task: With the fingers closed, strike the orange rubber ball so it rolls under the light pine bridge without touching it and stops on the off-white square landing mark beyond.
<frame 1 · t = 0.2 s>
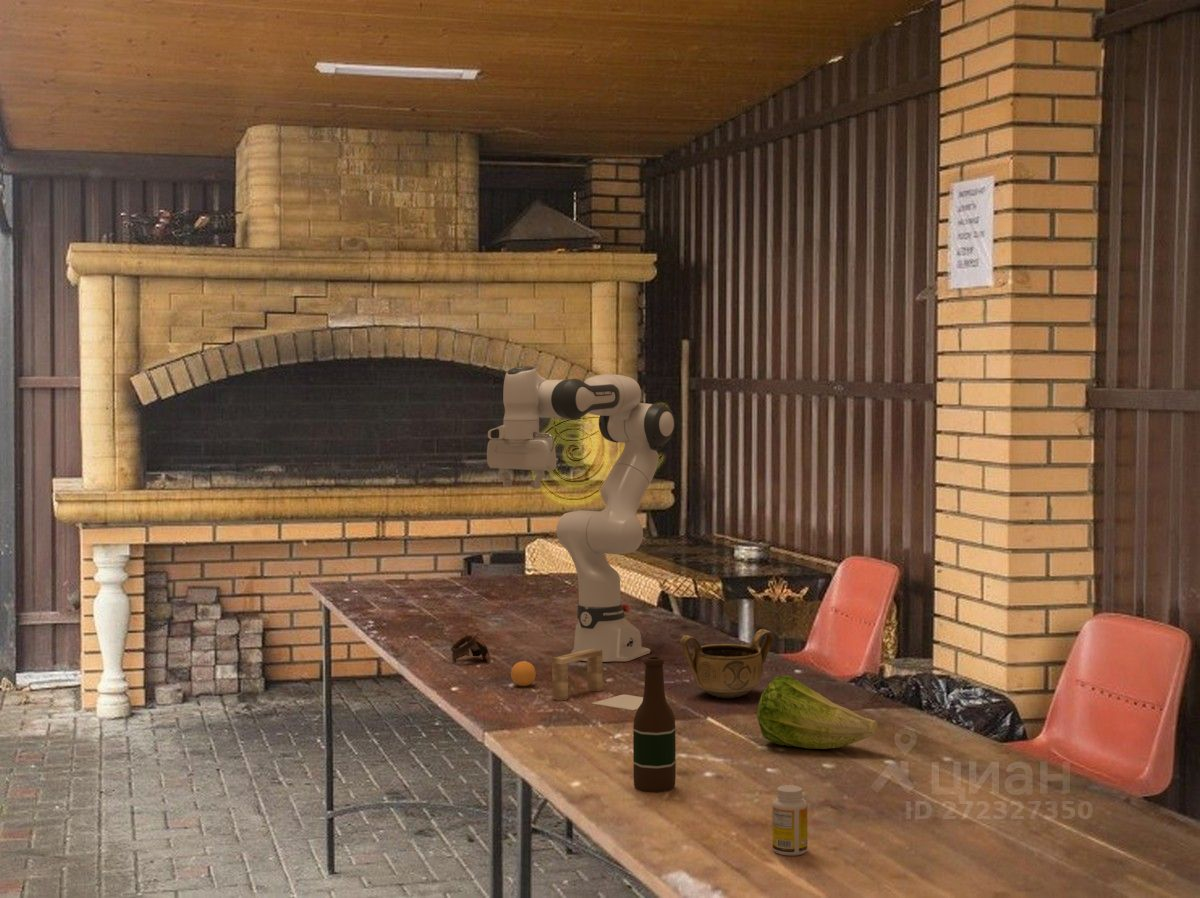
hand: (521, 487, 393), 47 cm above the table, tool pointing down, fingers open, 8 cm apart
landing mark: (628, 702, 363), on the table
bridge: (577, 694, 373), on the table
ceramic bowl: (727, 696, 370), on the table
supplement bottle: (789, 852, 252), on the table
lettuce: (819, 749, 319), on the table
ball: (523, 673, 383), on the table
beer bottle: (654, 788, 291), on the table
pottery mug: (472, 662, 416), on the table
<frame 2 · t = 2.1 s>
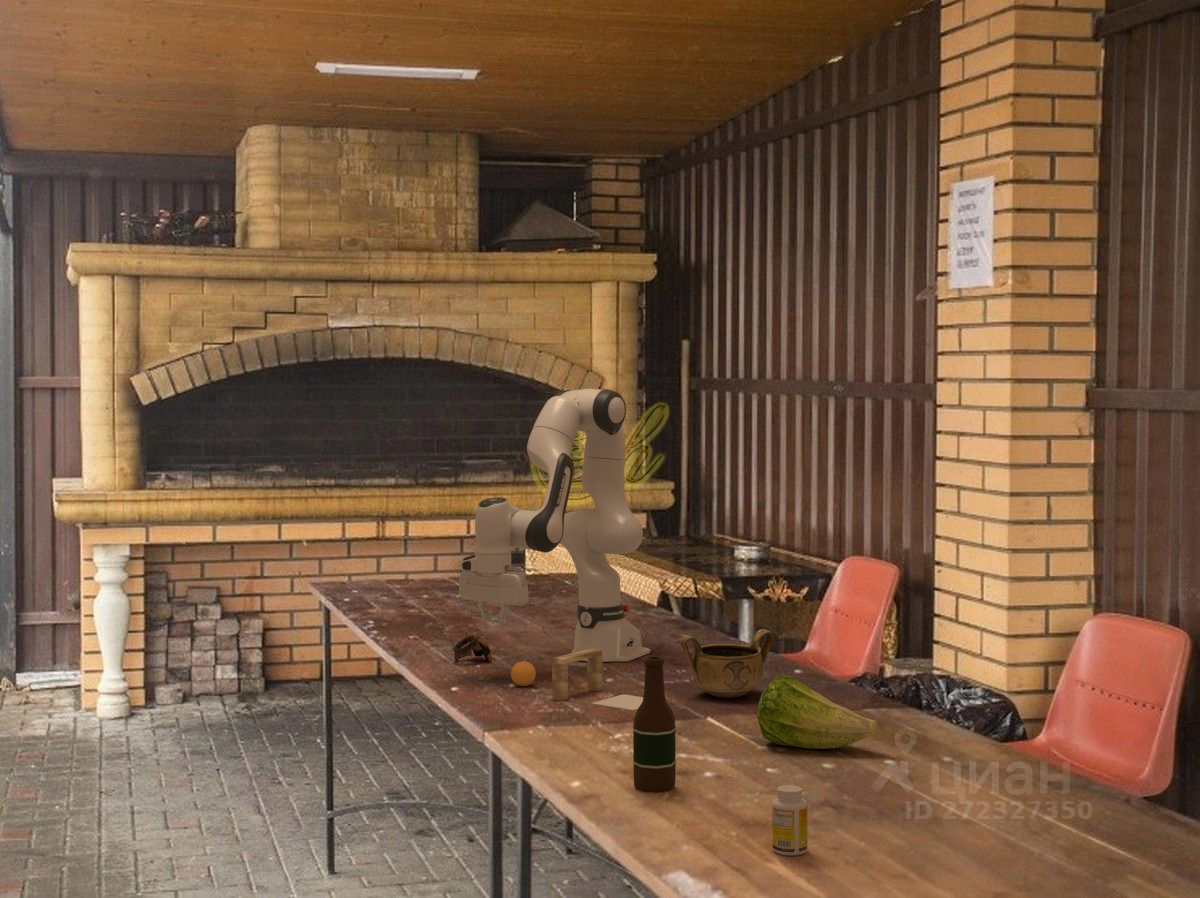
hand: (493, 620, 388), 15 cm above the table, tool pointing down, fingers open, 4 cm apart
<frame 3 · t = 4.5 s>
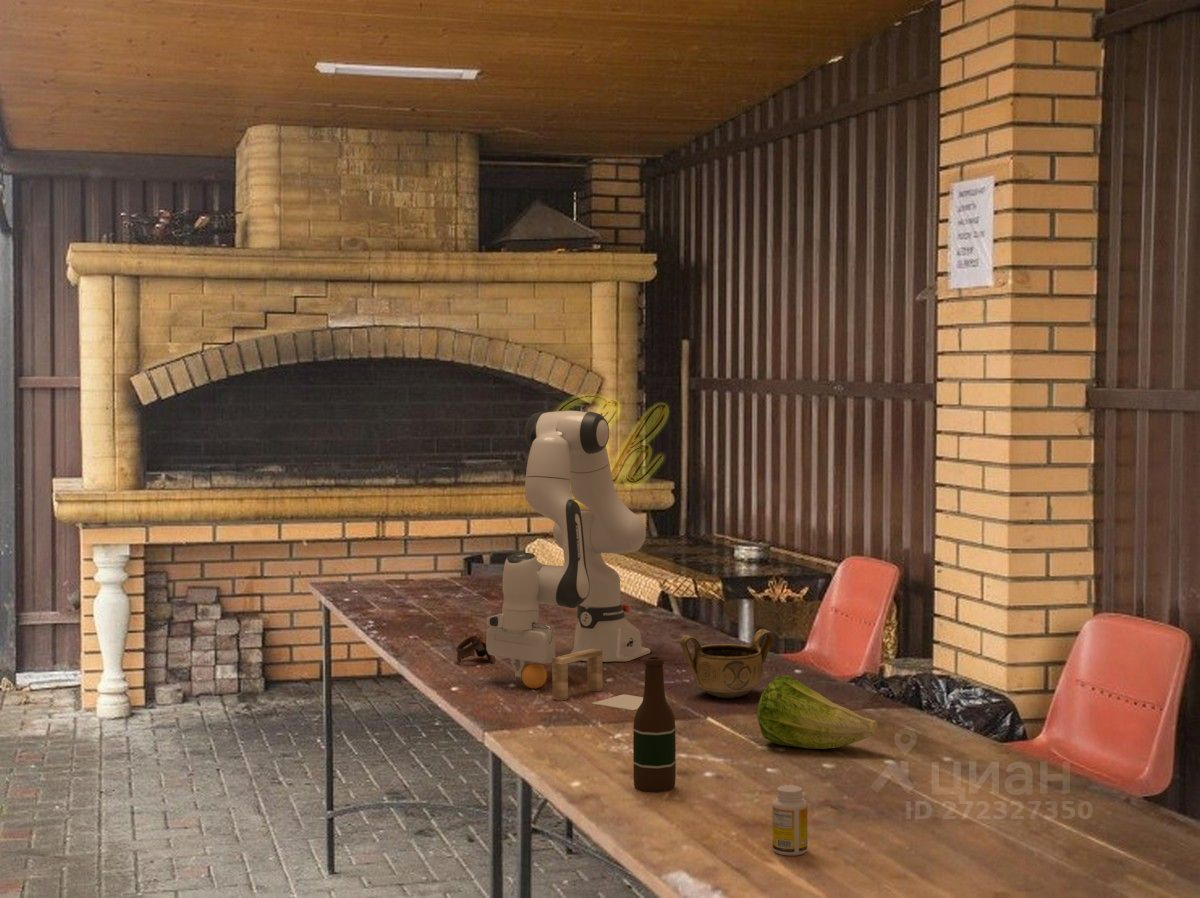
hand: (520, 677, 382), 2 cm above the table, tool pointing down, fingers closed
ball: (534, 675, 380), on the table, touching gripper
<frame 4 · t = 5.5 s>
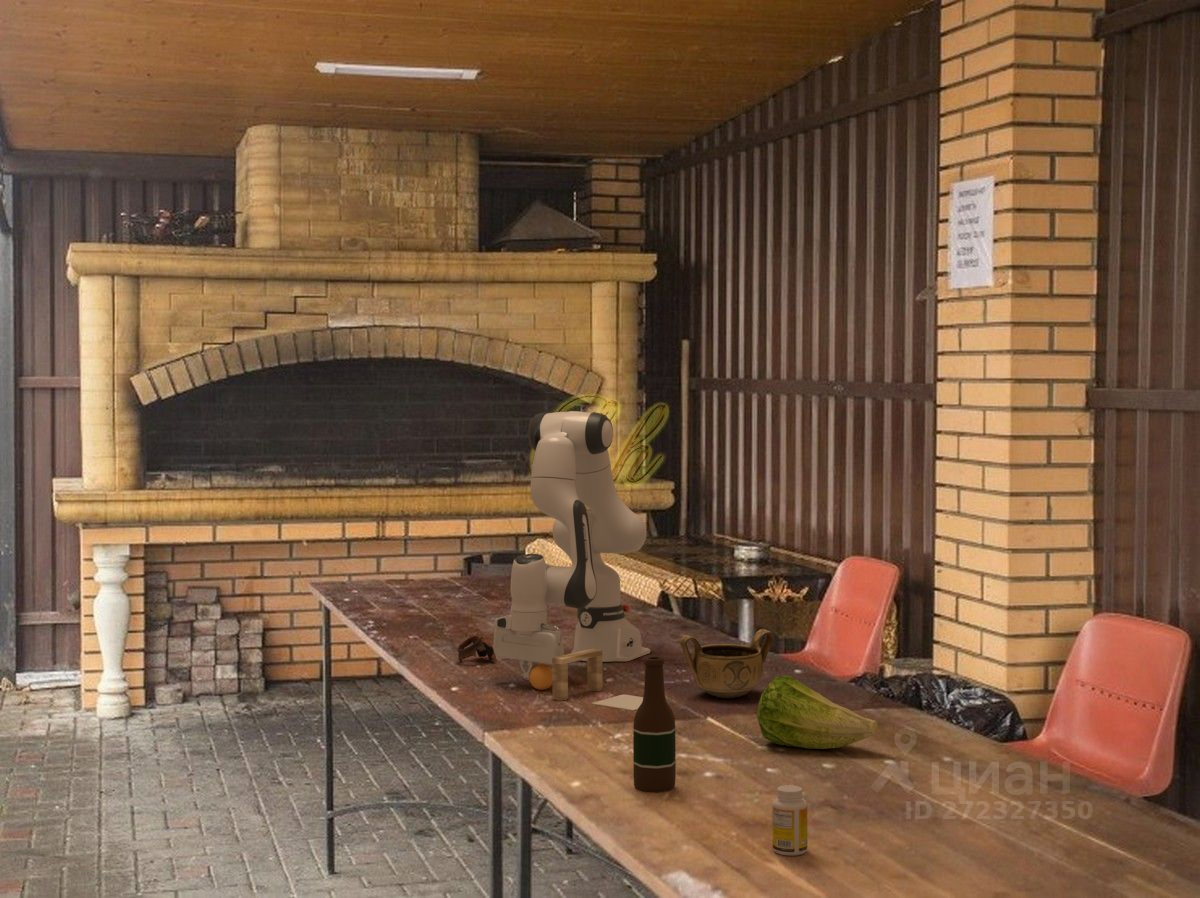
hand: (528, 679, 381), 2 cm above the table, tool pointing down, fingers closed
ball: (541, 677, 379), on the table, touching gripper
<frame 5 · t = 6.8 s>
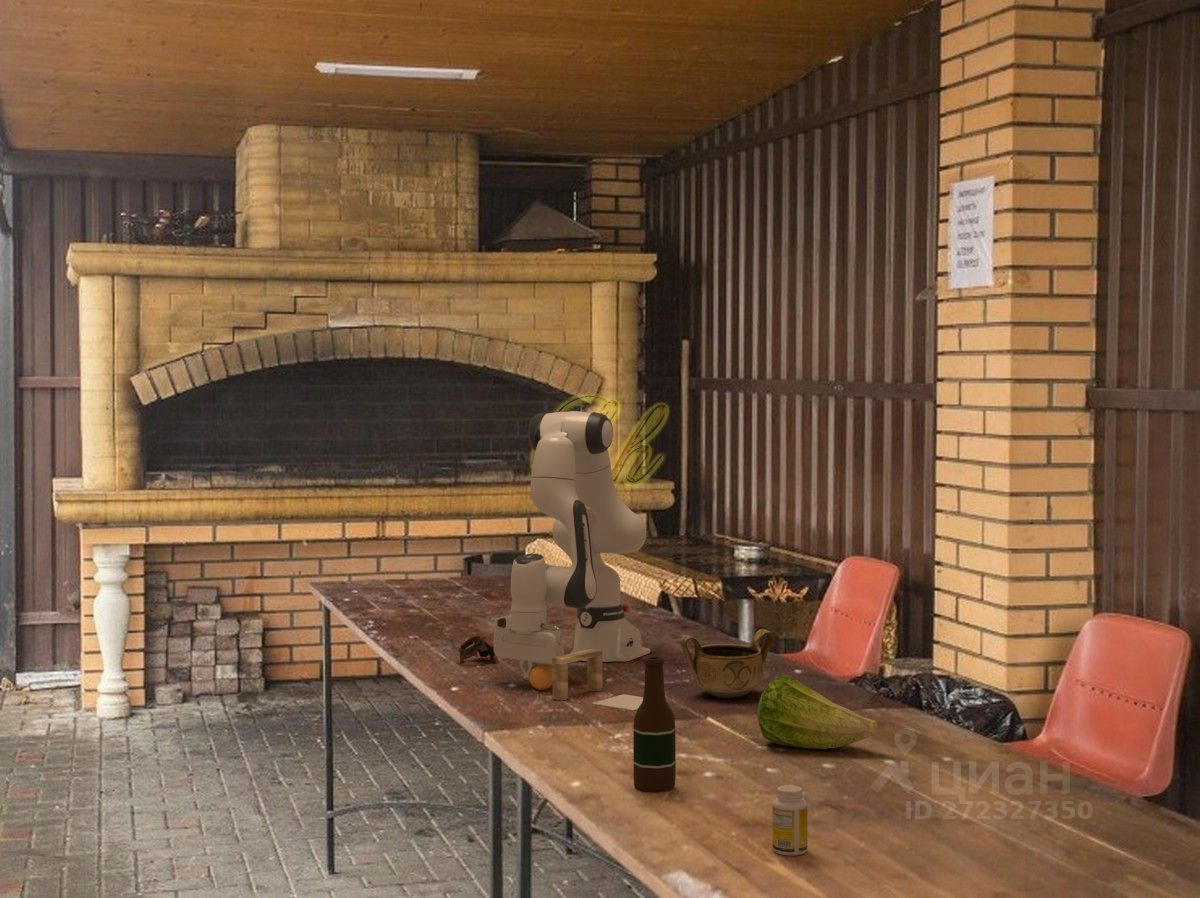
hand: (528, 679, 381), 2 cm above the table, tool pointing down, fingers closed
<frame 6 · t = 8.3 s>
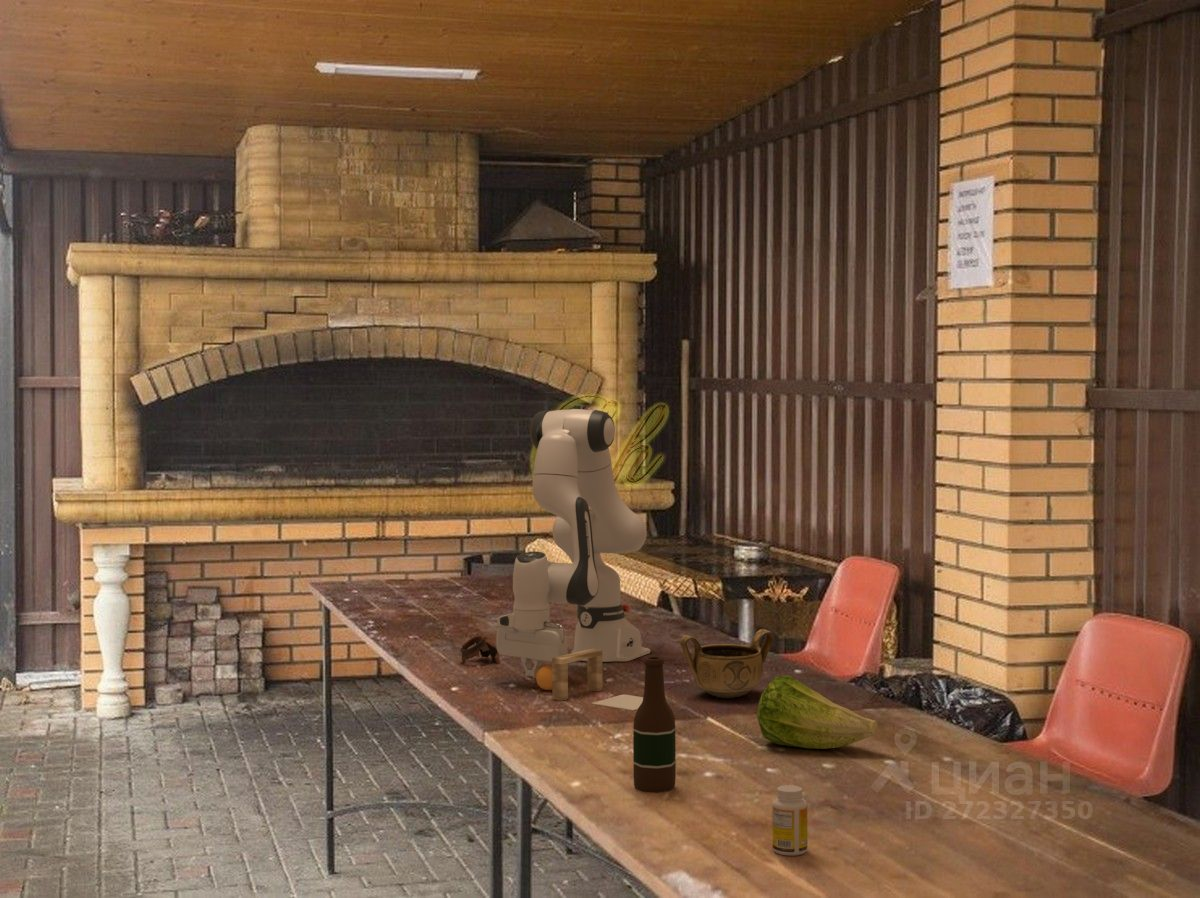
hand: (532, 676, 382), 3 cm above the table, tool pointing down, fingers closed
ball: (548, 677, 378), on the table
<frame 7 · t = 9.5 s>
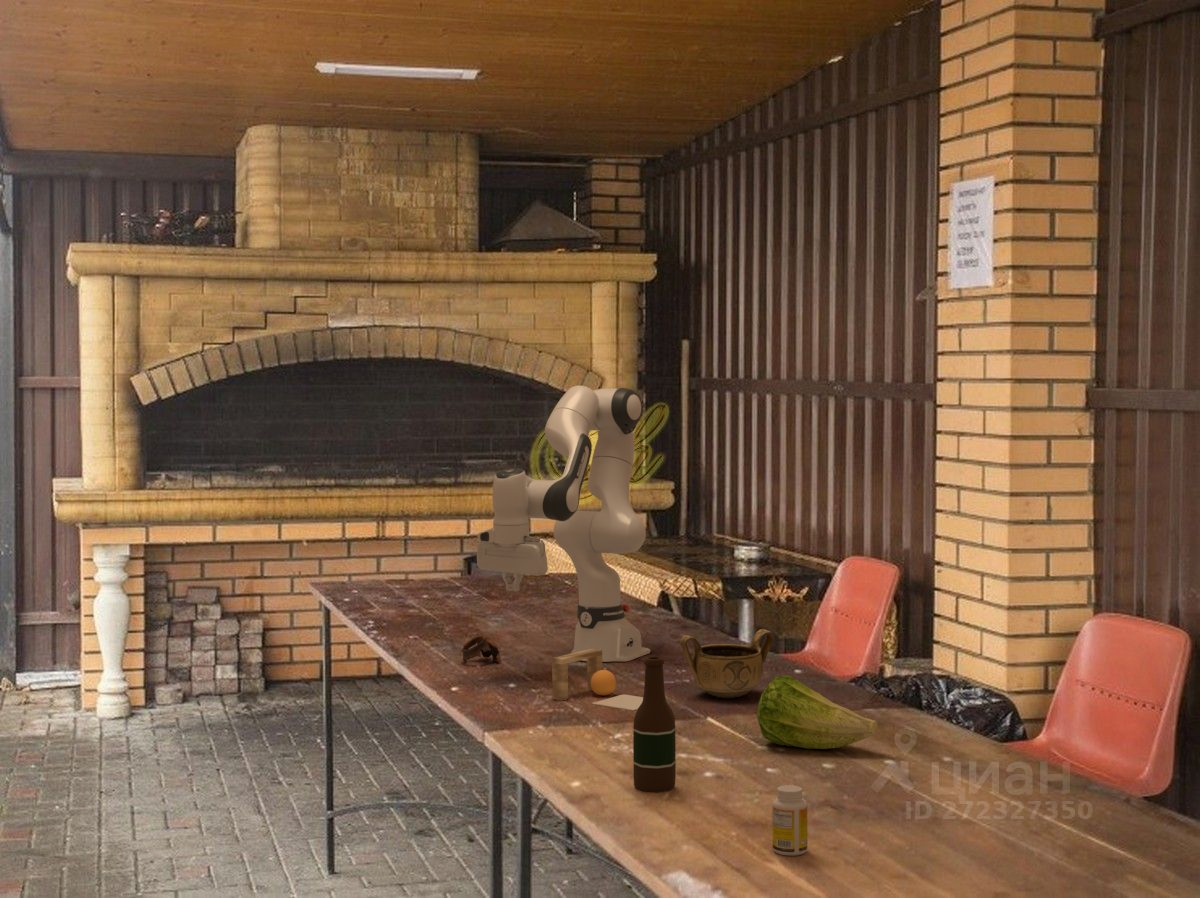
hand: (512, 590, 389), 22 cm above the table, tool pointing down, fingers closed
ball: (603, 682, 372), on the table
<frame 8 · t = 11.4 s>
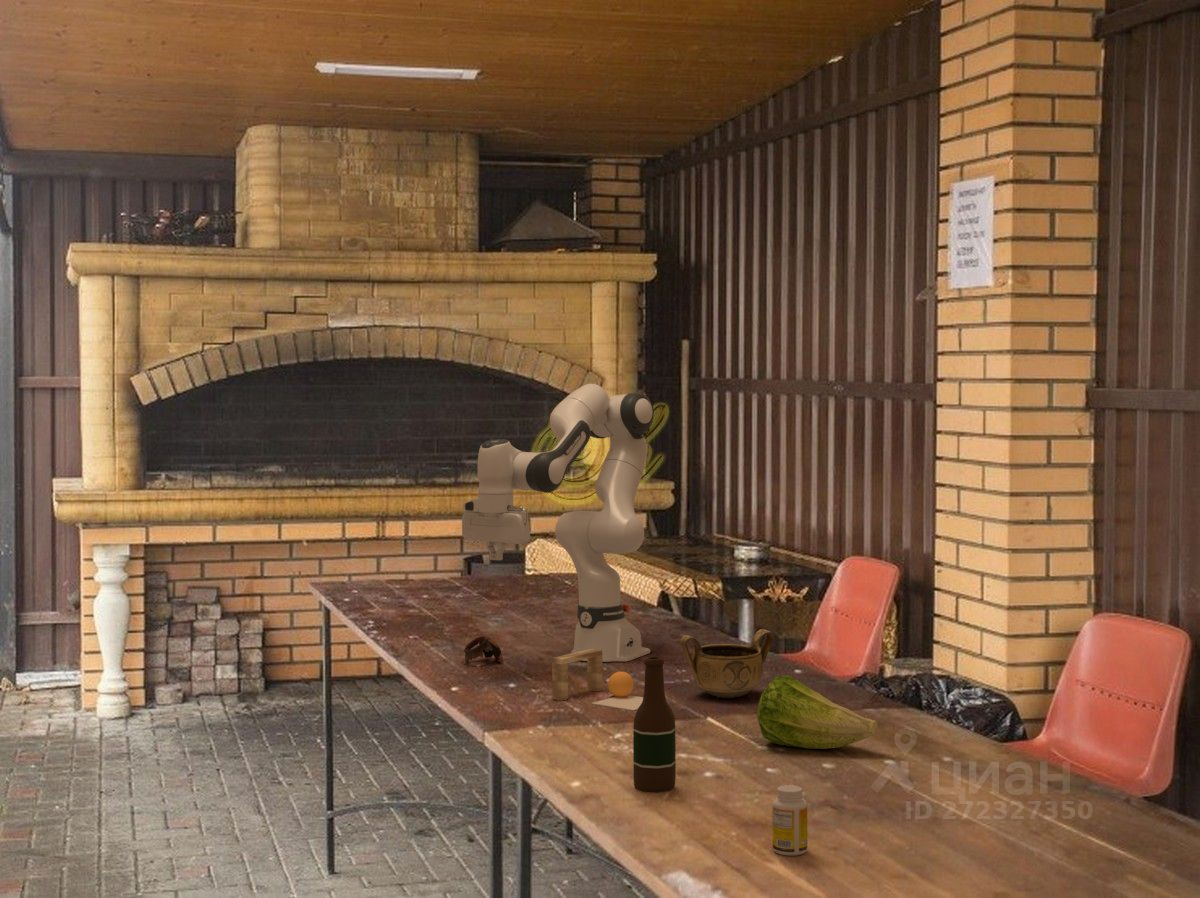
hand: (496, 559, 395), 29 cm above the table, tool pointing down, fingers closed
ball: (620, 684, 369), on the table
at the end: ball 6.5 cm from the landing mark (horizontally); ball never touched bridge; ball at rest at the end (0.0 cm/s) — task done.
